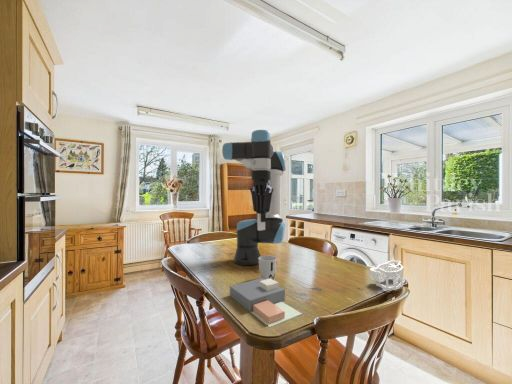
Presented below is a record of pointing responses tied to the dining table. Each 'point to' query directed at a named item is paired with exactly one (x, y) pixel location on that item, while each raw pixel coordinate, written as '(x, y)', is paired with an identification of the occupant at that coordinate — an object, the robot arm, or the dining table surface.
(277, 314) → the tile
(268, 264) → the cup
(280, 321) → the mat
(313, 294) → the dining table surface
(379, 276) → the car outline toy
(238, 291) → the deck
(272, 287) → the small tile
